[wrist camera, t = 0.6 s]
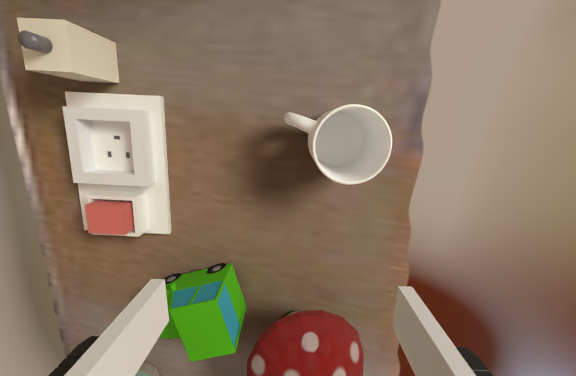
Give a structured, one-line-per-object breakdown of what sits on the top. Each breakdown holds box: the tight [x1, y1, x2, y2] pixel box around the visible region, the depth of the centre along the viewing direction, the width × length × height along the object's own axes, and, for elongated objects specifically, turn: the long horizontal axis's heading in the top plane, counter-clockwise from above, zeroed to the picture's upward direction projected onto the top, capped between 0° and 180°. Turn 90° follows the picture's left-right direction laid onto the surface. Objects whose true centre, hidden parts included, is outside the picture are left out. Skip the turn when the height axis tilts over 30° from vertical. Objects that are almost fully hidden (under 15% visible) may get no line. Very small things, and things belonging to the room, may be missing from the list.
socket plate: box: [62, 92, 171, 237], centre depth 37 cm, size 20×13×3 cm, turn 177°
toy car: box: [160, 263, 247, 362], centre depth 39 cm, size 10×13×10 cm
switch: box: [85, 201, 134, 235], centre depth 37 cm, size 4×5×2 cm
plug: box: [17, 18, 119, 83], centre depth 31 cm, size 5×5×10 cm
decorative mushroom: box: [247, 310, 364, 376], centre depth 37 cm, size 16×16×15 cm
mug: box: [284, 104, 392, 185], centre depth 32 cm, size 12×8×10 cm
